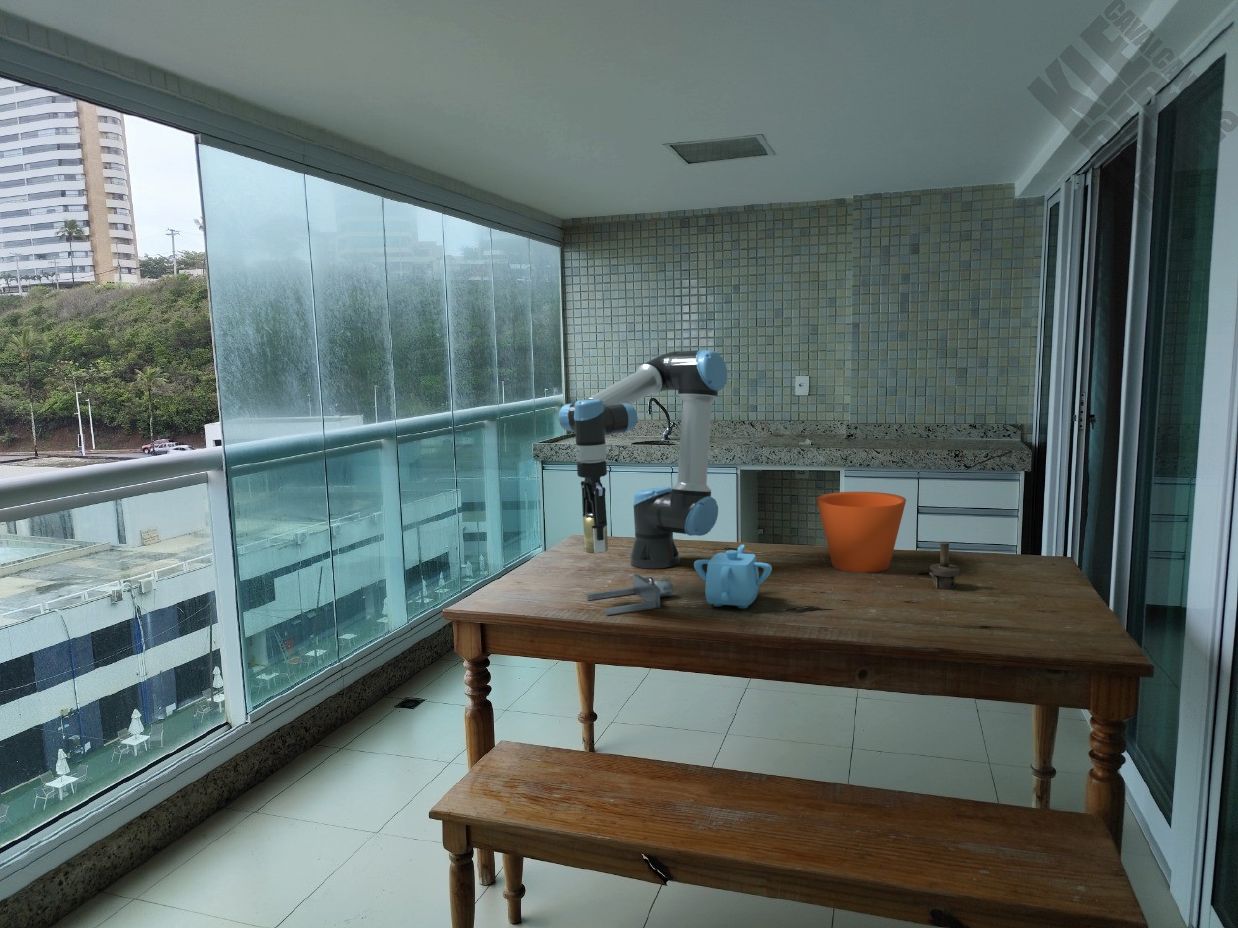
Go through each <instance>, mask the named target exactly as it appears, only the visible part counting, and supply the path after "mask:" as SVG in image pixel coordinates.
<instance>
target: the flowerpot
mask: <svg viewBox="0 0 1238 928" xmlns="http://www.w3.org/2000/svg"><path fill="white" fill-rule="evenodd" d="M906 501H907V499H906V498H905V497H904V496H901V495H898V494H893V493H886V492H880V491H879V492H878V491H838V492H831V493H829V492H828V493H826V494H821V495H819V496H817V497H816V502H817V503H816V504H817V508H818V511H819V515H820V520H821V524H822V528H823V532H824V536H825V541H826V545H827V549H828V552H829V556H830V561H831V564H832V567H834V568H835V569H838V570H840V571H845V572H850V573H851V572H852V573H864V574H865V573H877V572H883V571H886V570H888V569H889V568H890V566H891V561H892V557H893V555H894V550H895V546H896V542H897V539H898V533H899V530H900V526H901V521H902V519H903V518H902V517H903V515H904V514H903V513H904V510H905V507H906V503H907V502H906Z"/></svg>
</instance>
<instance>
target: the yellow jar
mask: <svg viewBox="0 0 1238 928" xmlns="http://www.w3.org/2000/svg"><path fill="white" fill-rule="evenodd" d="M582 522H583V523H582V525H583V540H584V541H583V543H584V552H585V553H586V554H596V553H594V535H593V529H592V526H594V519H593V512H589V513H586V515H585V516H583V515H582ZM604 534H605V552H600V553H599V554H602V553H606V552H608V550H609V546H608V545H609V543H608V542H609V541H608V525H607V526H605V527H604Z"/></svg>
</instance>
